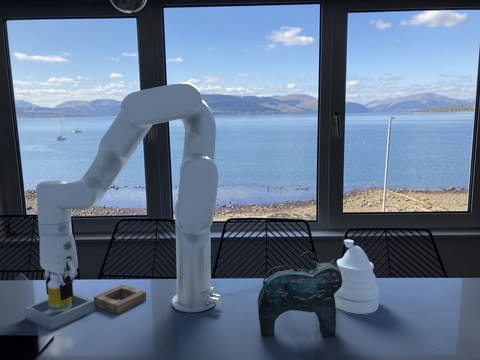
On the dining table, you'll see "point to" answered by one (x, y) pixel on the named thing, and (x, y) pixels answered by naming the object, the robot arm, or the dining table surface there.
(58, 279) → the supplement bottle
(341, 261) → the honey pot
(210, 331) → the dining table surface
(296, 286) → the green animal figurine
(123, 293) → the socket block
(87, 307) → the tray
